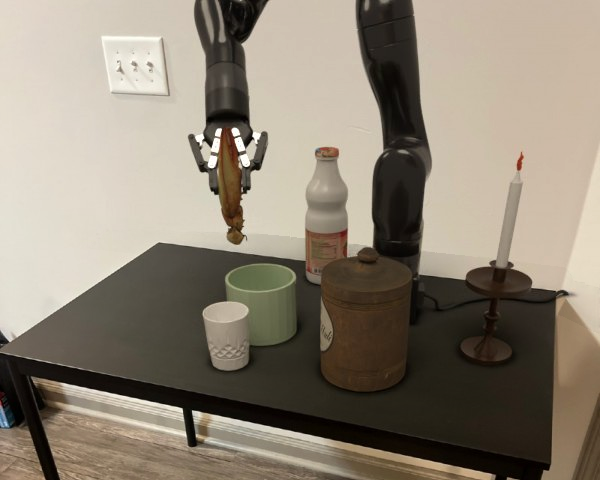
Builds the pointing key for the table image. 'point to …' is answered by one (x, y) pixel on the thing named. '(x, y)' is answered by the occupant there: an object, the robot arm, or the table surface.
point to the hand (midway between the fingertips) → (230, 191)
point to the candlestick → (497, 286)
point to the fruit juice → (325, 215)
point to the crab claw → (230, 186)
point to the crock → (265, 301)
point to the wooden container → (364, 321)
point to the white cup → (227, 334)
